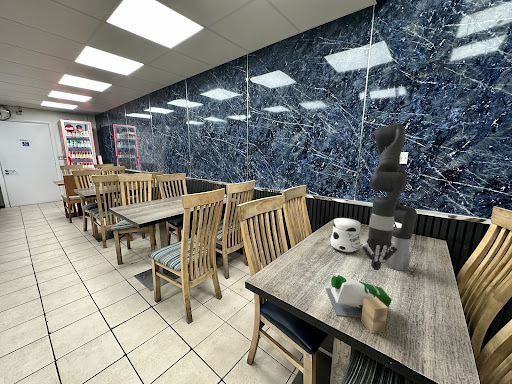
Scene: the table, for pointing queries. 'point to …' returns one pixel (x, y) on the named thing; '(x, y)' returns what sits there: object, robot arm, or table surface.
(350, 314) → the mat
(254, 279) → the table surface
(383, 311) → the oak block
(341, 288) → the soya milk
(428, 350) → the table surface
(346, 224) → the milk container
